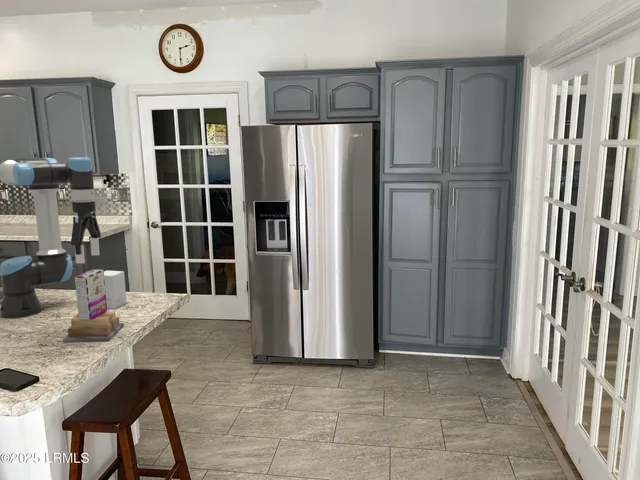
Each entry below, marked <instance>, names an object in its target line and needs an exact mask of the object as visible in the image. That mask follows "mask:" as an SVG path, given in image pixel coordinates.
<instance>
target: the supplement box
mask: <svg viewBox="0 0 640 480" xmlns="http://www.w3.org/2000/svg"><path fill="white" fill-rule="evenodd" d="M103 271H104V270H103ZM125 280H126V278H125V271H124V270H123V271H121V270H105V271H104V282H105V292H106V302H107V309H109V310H110V309H111V310H112V309H113V310H115V309H117V308H119V307H121V306H124V305H126V304H127V293H126V281H125Z"/></svg>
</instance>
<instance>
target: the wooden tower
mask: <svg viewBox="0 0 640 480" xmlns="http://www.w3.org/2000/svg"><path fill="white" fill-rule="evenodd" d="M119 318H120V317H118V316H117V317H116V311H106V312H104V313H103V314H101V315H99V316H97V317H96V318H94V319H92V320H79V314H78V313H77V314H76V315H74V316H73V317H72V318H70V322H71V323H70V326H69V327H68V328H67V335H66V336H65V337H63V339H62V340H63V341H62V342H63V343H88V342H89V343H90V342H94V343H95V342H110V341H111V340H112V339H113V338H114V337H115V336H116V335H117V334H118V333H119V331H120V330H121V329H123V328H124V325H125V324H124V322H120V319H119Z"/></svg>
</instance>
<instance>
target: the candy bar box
mask: <svg viewBox="0 0 640 480" xmlns="http://www.w3.org/2000/svg"><path fill="white" fill-rule="evenodd" d="M74 284H75V285H74V286H75V293H76V294H75V295H76V303H77V314H79V320H92V319H94V318H96V317H97V316H99V315H101V314H103V313H104V312H108V308H107V302H106V292H105V282H104V269H91V270H88V271H85V272H82V273H80V274H77V275H76V276H74Z"/></svg>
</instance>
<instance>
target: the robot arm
mask: <svg viewBox="0 0 640 480" xmlns="http://www.w3.org/2000/svg"><path fill="white" fill-rule="evenodd" d="M93 169H94V167H93V161H92V159H91V158H90V157H81V156H80V157H69V158H68V161H65V162H59V161H58V160H57V159H55V158H52V157H14V158H10V159H6V160H3V161H1V162H0V182H1V183H3V184H5V185H8V186H12V187H13V186H14V187H28V192H30V193H31V194H32V195H33V203H34V213H35V220H36V230H37V231H36V232H37V238H38V248H39V250H38V251H37V252H36V253H35V257H36V258H32V256H30V255H20V256H15V257H12V258H9V259H6V260H4V261H2V263H0V279H1V288H2V296H3V297H2V301H1V304H0V317H2V318H7V319H9V318H10V319H16V318H24V317H28V316H32V315H36V314H38V313H40V312H42V309H43V307H42V303H41V301H40V299H39V297H38V296H37V293H36V289H35V288H36V286H37V287H38V286H43V285H49V284H55V283H58V284H59V283H62V282H65V281H68V280H70V278H71V277H72V274H73V260H72V259H73V258H72V256H71V254H68V253H67V250H66V249H64V248H63V246H62V239H61V238H62V236H61V228H60V219H59V209H58V208H59V207H58V201H57V200H58V199H57V192H59V190H60V186H62V185H63V184H70V196H71V197H70V198H71V199H70V200H71V201H73V202H71V207H72V208H71V209H72V212H73V213H76V214H77V216H73V218H72V222H73V223H72V229H71V230H72V231H71V238H70V239H71V241H70V245H71V246H74V253H75V264H85V263H86V262H85V251H84V249H85V248H84V244H83V241H84V236H85V232H86V229H87V231H88V233H89V236H90V237H89V238H90V239H89V240H90V253H91V255H90V256H100V243H99V238H102V236H101V229H100V226H99V223H98V219H97V214H96V210H97V209H96V208H97V207H96V202H95V201H94V200H95V195H96V191H95V187H94V186H95V185H94V171H93Z"/></svg>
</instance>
